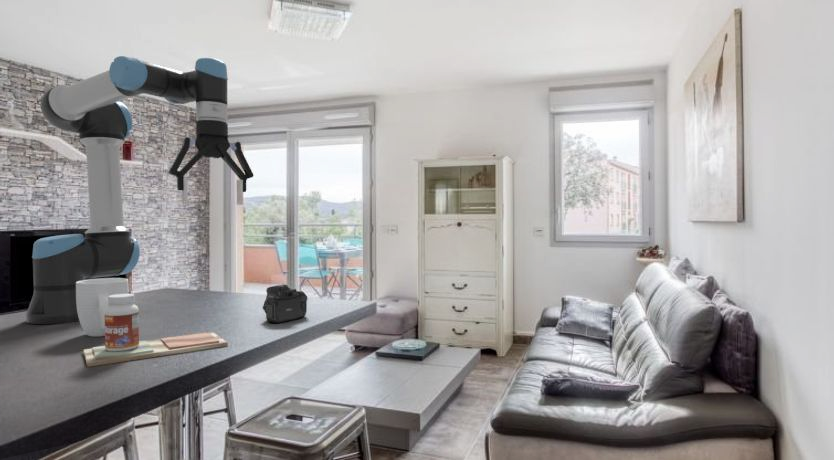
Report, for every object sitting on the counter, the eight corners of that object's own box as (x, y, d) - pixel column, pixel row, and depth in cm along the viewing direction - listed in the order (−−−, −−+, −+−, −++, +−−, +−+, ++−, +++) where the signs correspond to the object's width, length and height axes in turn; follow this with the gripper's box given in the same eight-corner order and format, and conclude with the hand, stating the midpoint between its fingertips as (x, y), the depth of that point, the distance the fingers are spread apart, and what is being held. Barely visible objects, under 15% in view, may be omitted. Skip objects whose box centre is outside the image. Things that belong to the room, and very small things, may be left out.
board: (83, 353, 106) (83, 347, 106) (213, 335, 122) (212, 330, 122) (87, 366, 97) (87, 360, 97) (227, 345, 112) (227, 340, 112)
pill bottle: (98, 352, 102) (97, 298, 102) (115, 344, 108) (113, 293, 108) (130, 352, 103) (128, 297, 102) (145, 344, 109) (143, 292, 108)
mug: (132, 338, 119) (131, 283, 119) (76, 345, 113) (75, 286, 113) (127, 326, 132) (126, 276, 131) (76, 332, 125) (75, 279, 125)
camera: (278, 314, 148) (277, 280, 148) (310, 315, 146) (309, 281, 146) (255, 324, 135) (254, 286, 135) (289, 325, 133) (289, 287, 133)
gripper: (161, 113, 120) (162, 203, 120) (265, 124, 134) (265, 204, 135) (155, 118, 126) (156, 203, 126) (255, 128, 140) (256, 205, 141)
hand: (213, 204), depth 131 cm, fingers open, 13 cm apart
